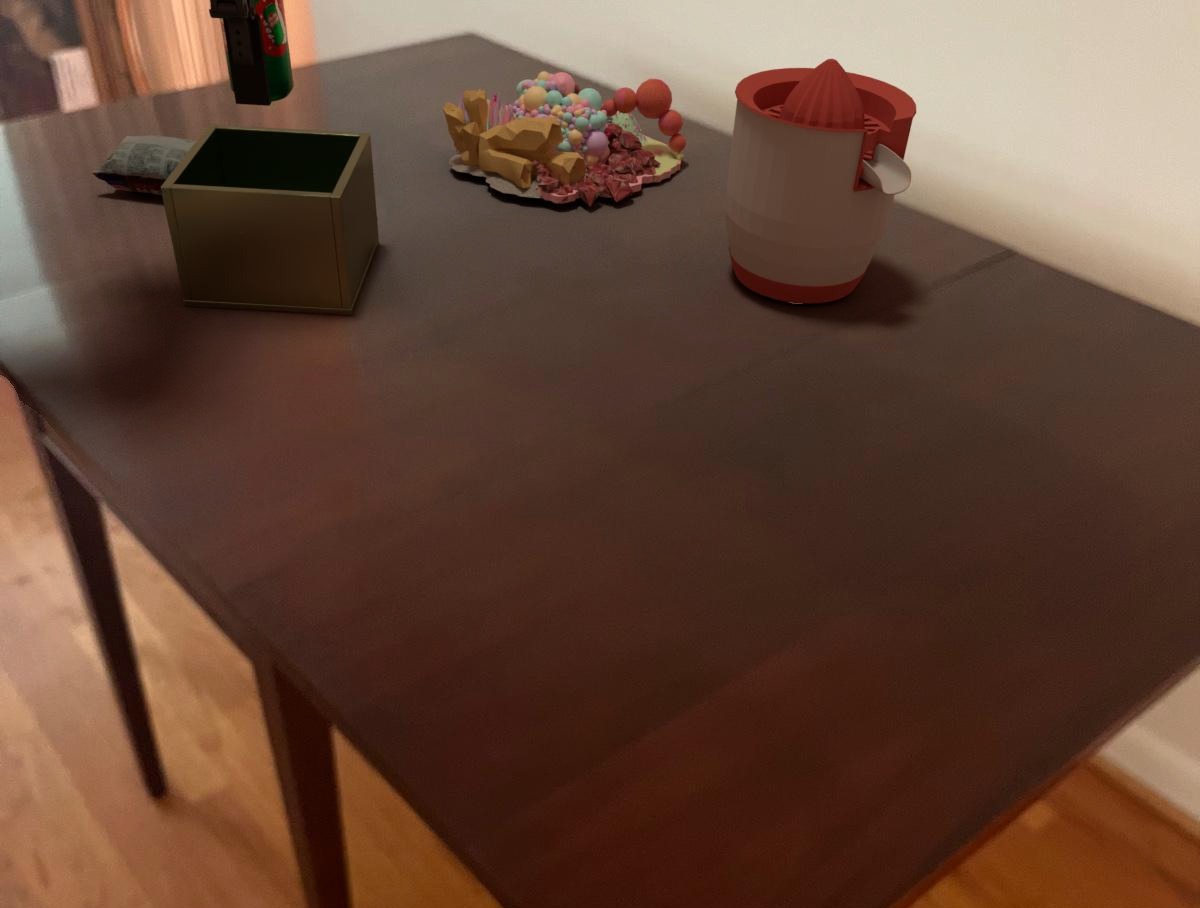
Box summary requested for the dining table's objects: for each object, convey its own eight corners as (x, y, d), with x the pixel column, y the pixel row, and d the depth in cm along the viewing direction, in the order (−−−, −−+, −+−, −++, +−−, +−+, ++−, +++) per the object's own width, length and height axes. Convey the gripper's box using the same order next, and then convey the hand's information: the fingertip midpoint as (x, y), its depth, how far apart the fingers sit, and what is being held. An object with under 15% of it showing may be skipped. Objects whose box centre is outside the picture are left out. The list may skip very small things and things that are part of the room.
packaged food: (138, 165, 124) (127, 117, 121) (242, 179, 123) (235, 131, 120) (95, 197, 118) (83, 148, 115) (205, 212, 116) (196, 163, 113)
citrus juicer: (812, 343, 102) (857, 109, 89) (679, 268, 112) (701, 47, 99) (924, 296, 110) (981, 75, 97) (791, 231, 120) (825, 21, 107)
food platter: (597, 229, 118) (601, 136, 112) (409, 174, 126) (403, 85, 120) (705, 155, 134) (714, 71, 128) (533, 111, 143) (534, 30, 137)
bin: (184, 306, 102) (160, 187, 95) (228, 235, 113) (209, 123, 106) (351, 315, 102) (339, 197, 95) (379, 244, 113) (370, 133, 106)
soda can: (228, 86, 98) (202, -76, 90) (289, 82, 99) (269, -78, 91) (236, 106, 94) (210, -60, 86) (299, 102, 96) (279, -62, 88)
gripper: (234, -236, 75) (282, 133, 90) (296, -265, 88) (329, 60, 103) (117, -243, 74) (185, 127, 90) (197, -271, 88) (244, 55, 103)
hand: (262, 90), depth 97 cm, fingers closed on soda can, 5 cm apart
